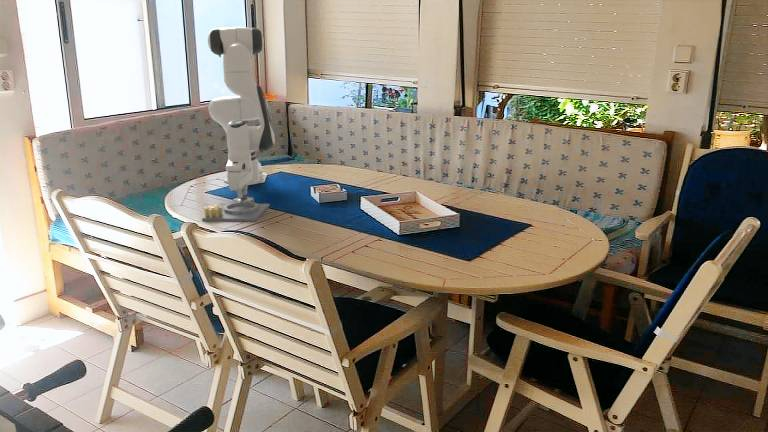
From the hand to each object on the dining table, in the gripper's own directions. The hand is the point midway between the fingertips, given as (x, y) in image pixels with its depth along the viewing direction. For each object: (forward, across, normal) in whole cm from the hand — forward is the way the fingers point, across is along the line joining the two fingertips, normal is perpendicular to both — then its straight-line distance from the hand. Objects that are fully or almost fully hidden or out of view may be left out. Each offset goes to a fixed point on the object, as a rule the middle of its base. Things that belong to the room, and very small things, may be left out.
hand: (242, 195), depth 254 cm
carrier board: (+3, +14, +2) cm, 14 cm away
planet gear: (+3, 0, 0) cm, 3 cm away
